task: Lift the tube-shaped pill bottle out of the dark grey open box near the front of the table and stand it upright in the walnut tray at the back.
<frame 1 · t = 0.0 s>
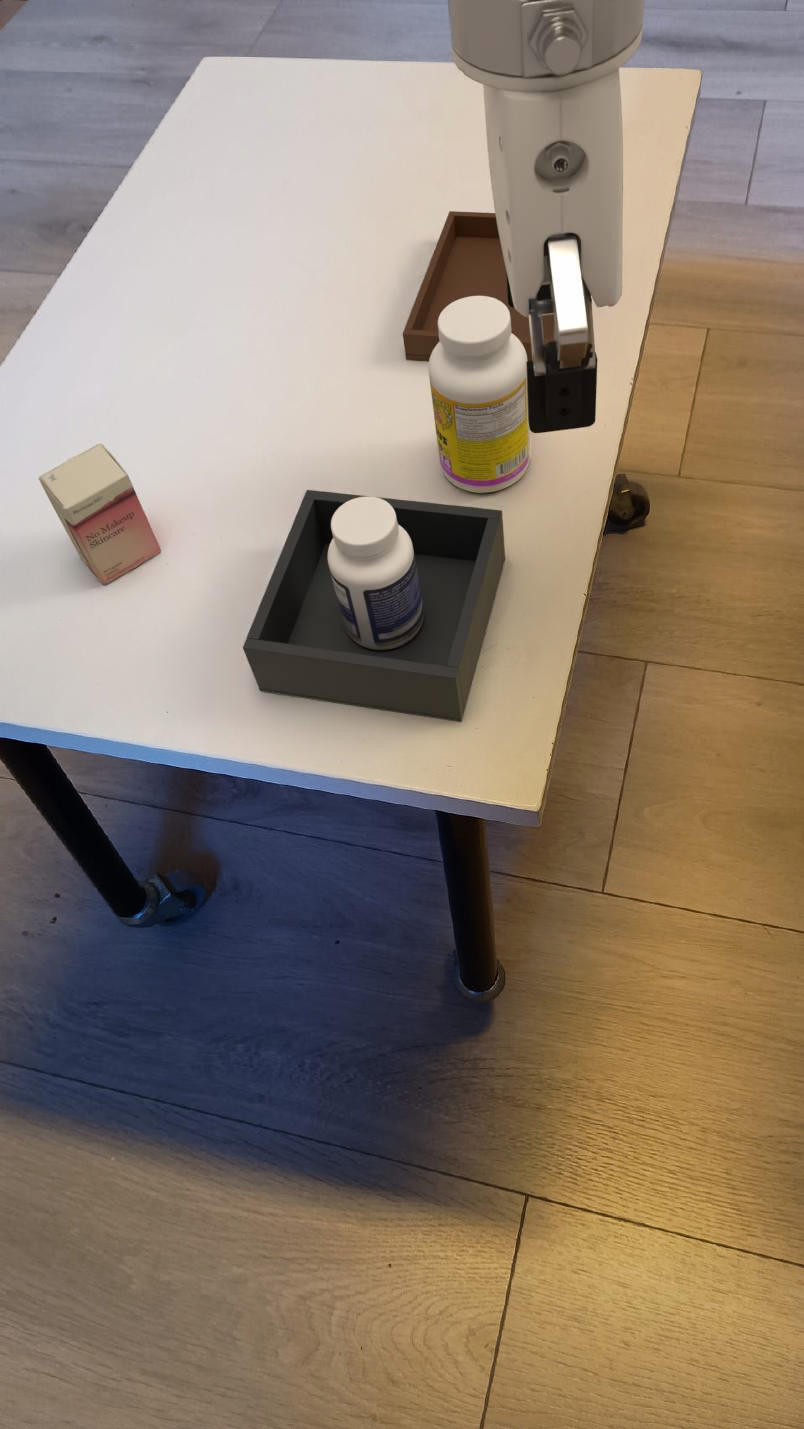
hand: (549, 361, 57), 20 cm above the table, tool pointing down, fingers open, 9 cm apart
small box: (121, 554, 81), on the table
supplement bottle: (485, 466, 82), on the table
tray: (501, 299, 92), on the table
dark grey open box: (385, 623, 75), on the table
pill bottle: (385, 622, 75), resting on dark grey open box
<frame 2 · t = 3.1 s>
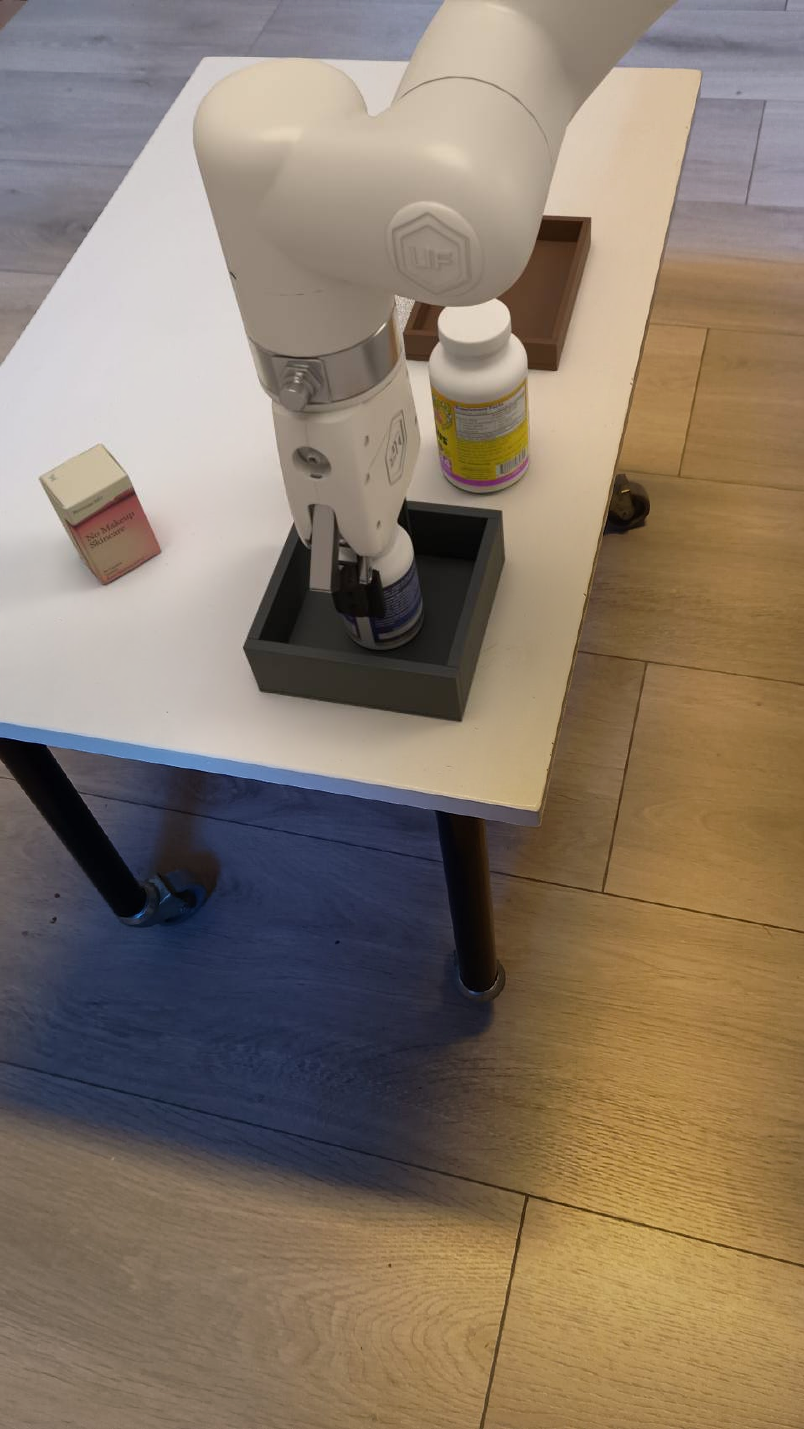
hand: (374, 572, 70), 5 cm above the table, tool pointing down, fingers closed on pill bottle, 5 cm apart
pill bottle: (385, 622, 75), resting on dark grey open box, touching gripper
everything else where it was.
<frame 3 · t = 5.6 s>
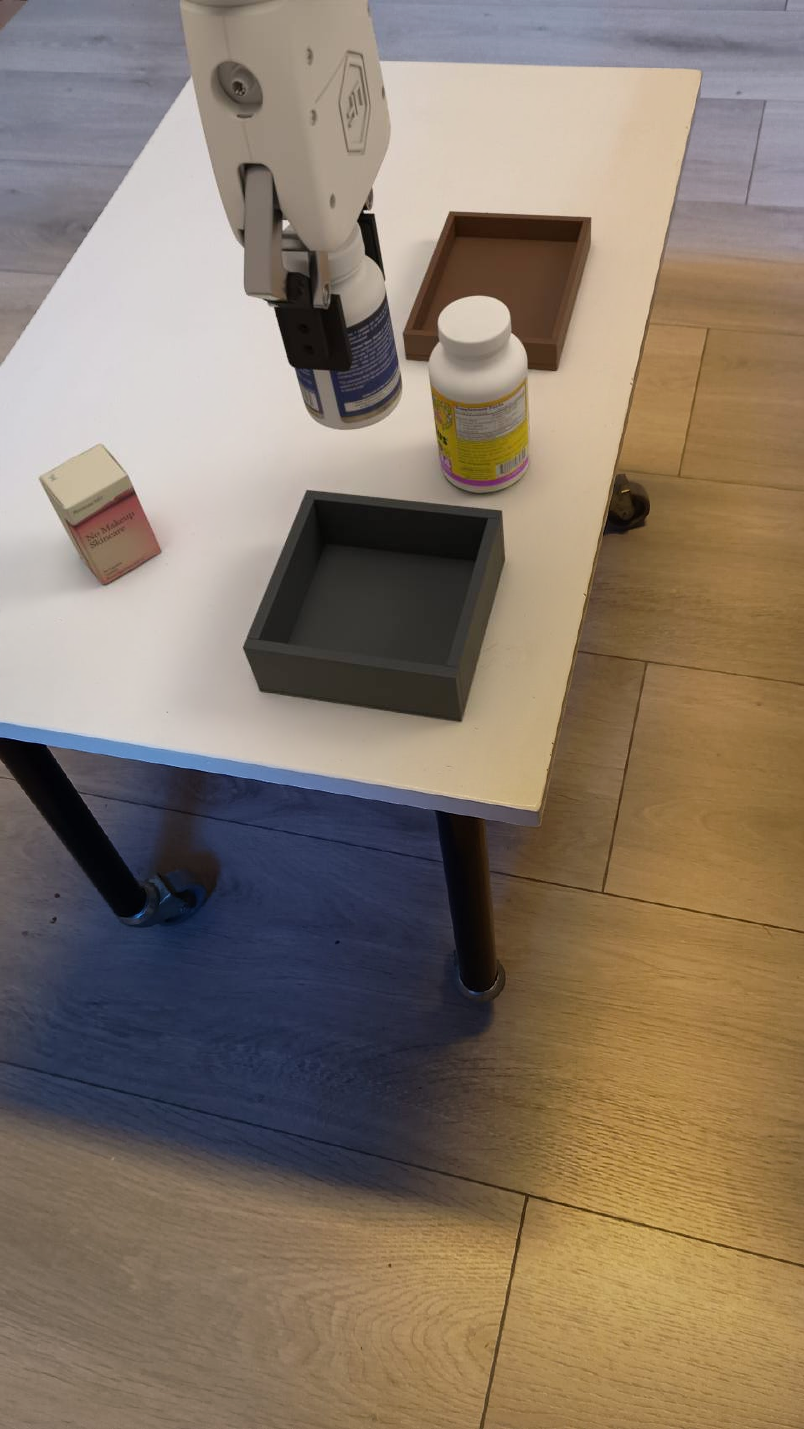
hand: (338, 322, 56), 23 cm above the table, tool pointing down, fingers closed on pill bottle, 5 cm apart
pill bottle: (355, 401, 60), point 18 cm above the table, touching gripper
everything else where it was.
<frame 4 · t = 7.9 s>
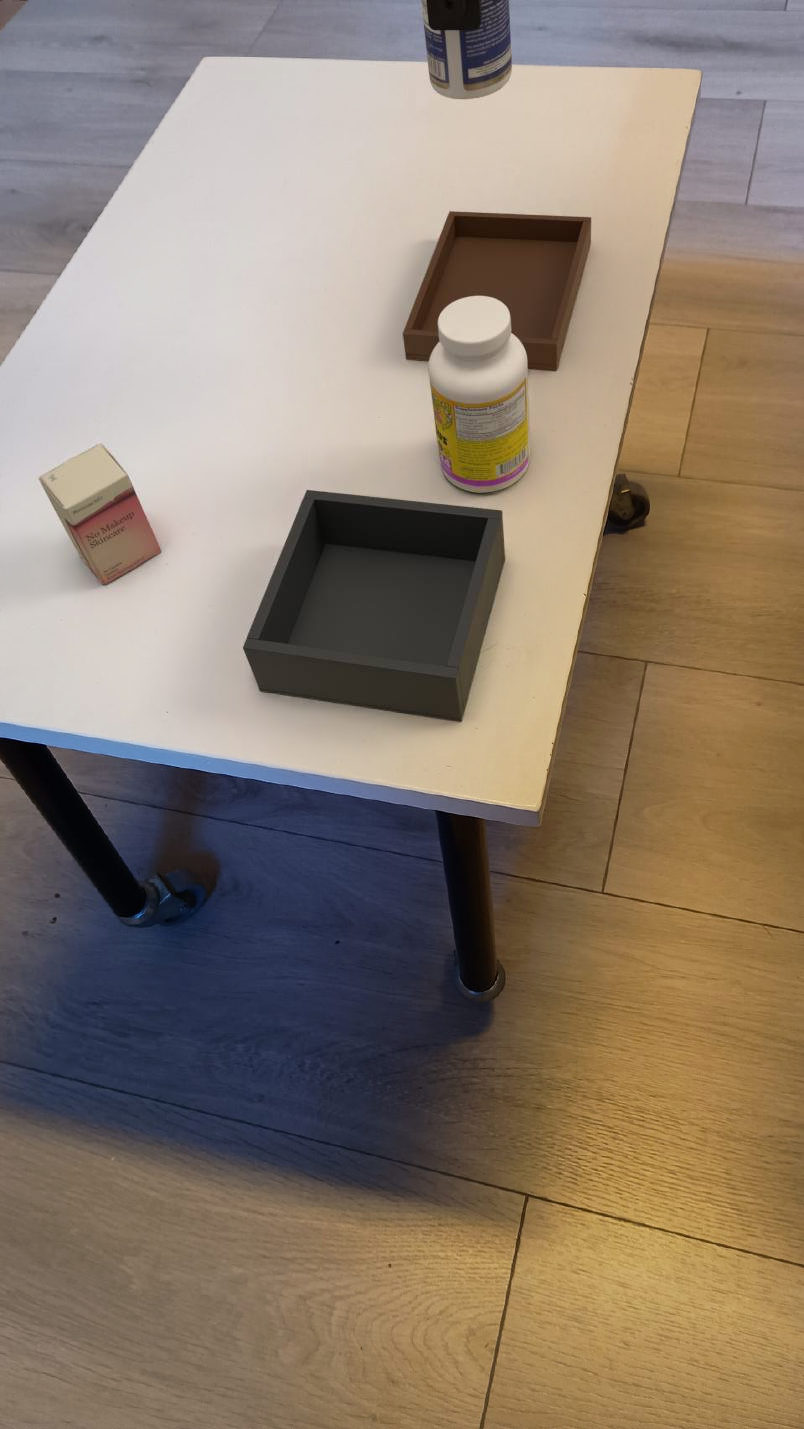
pill bottle: (471, 83, 73), point 20 cm above the table, touching gripper
everything else where it was.
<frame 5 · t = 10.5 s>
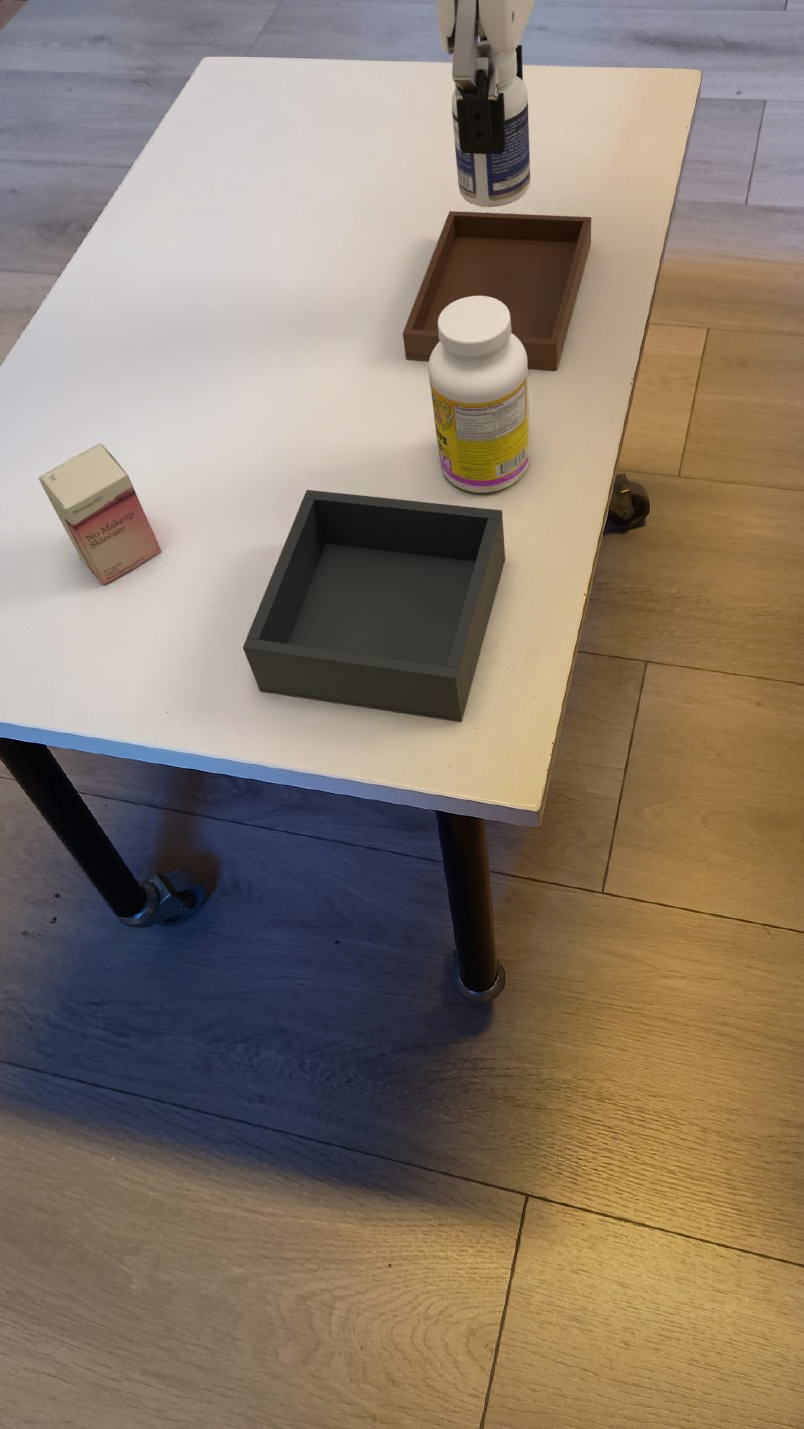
hand: (492, 124, 80), 15 cm above the table, tool pointing down, fingers closed on pill bottle, 5 cm apart
pill bottle: (494, 190, 84), point 10 cm above the table, touching gripper
everything else where it was.
when the fingers open (5 cm above the table, at t = 13.0 s): pill bottle stays where it is, resting on tray.
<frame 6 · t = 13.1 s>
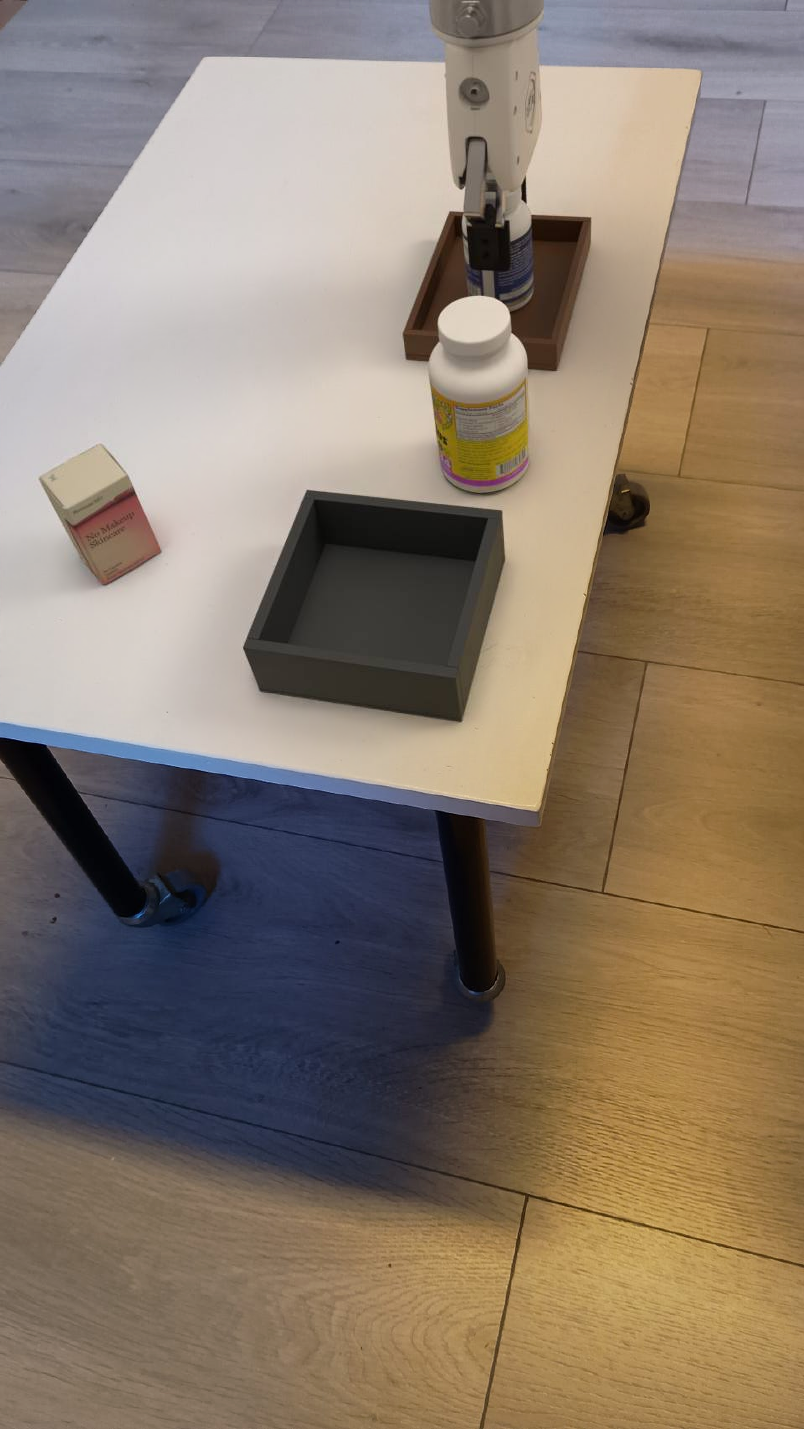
hand: (498, 241, 87), 5 cm above the table, tool pointing down, fingers open, 5 cm apart
pill bottle: (501, 297, 92), resting on tray
everything else where it was.
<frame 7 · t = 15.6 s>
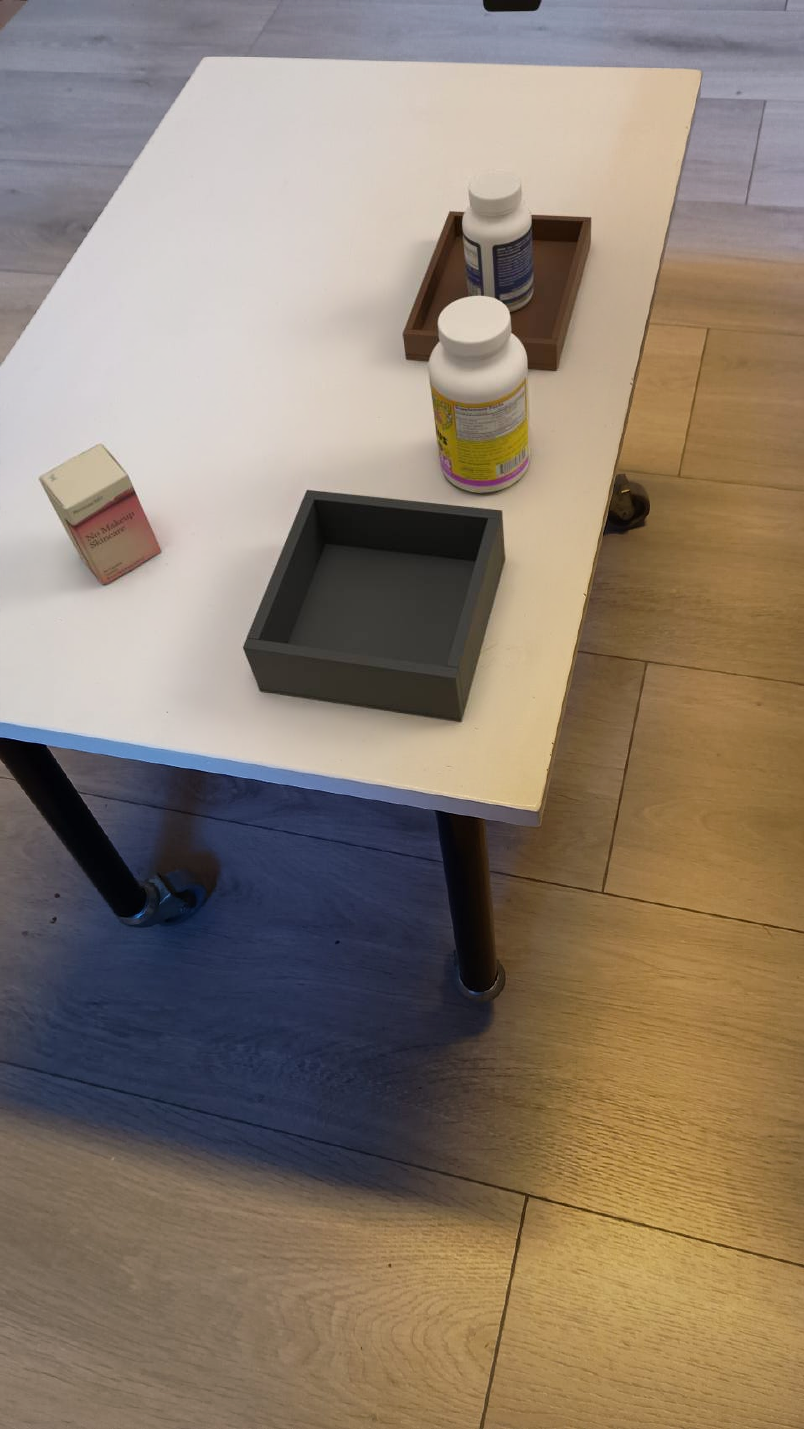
nothing on the table moved.
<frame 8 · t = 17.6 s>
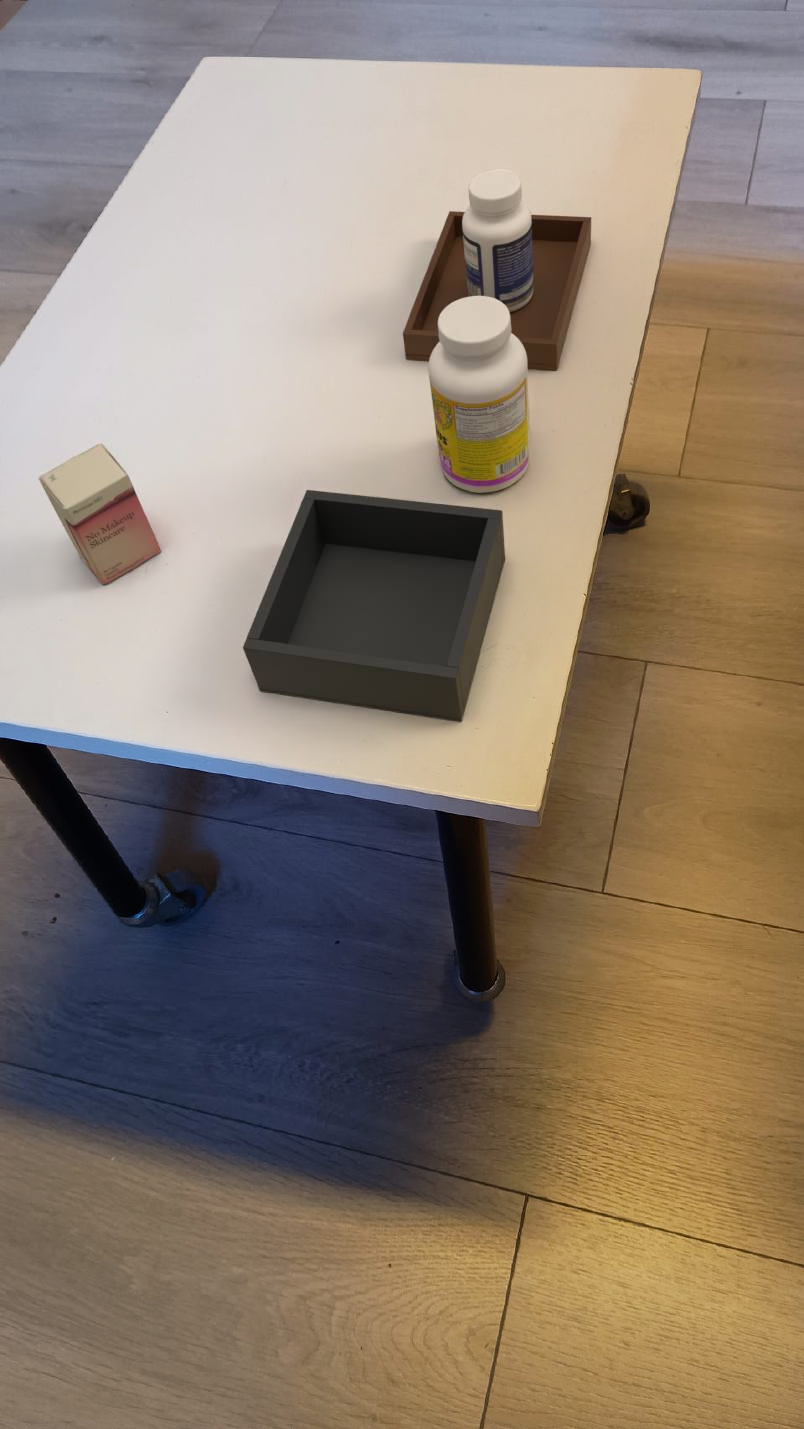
nothing on the table moved.
at the end: pill bottle inside the target area in the tray (0.1 cm from its centre), point 0.3 cm above the tray's base; pill bottle tilted 0°; the gripper is holding nothing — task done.
